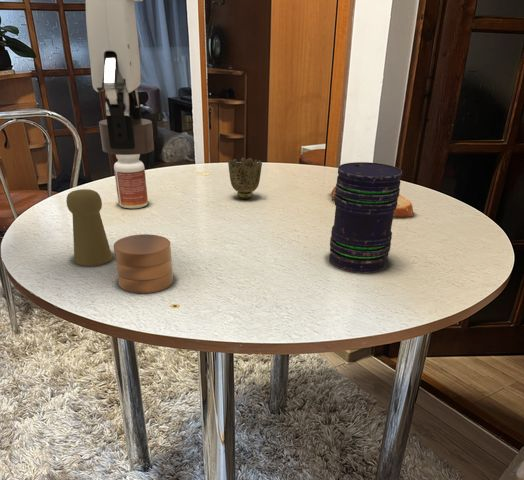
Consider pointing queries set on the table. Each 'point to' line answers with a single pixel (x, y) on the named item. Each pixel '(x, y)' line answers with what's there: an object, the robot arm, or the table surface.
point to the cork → (88, 228)
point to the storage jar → (364, 216)
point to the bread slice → (402, 208)
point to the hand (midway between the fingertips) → (127, 141)
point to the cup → (245, 176)
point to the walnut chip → (141, 135)
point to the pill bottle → (130, 181)
